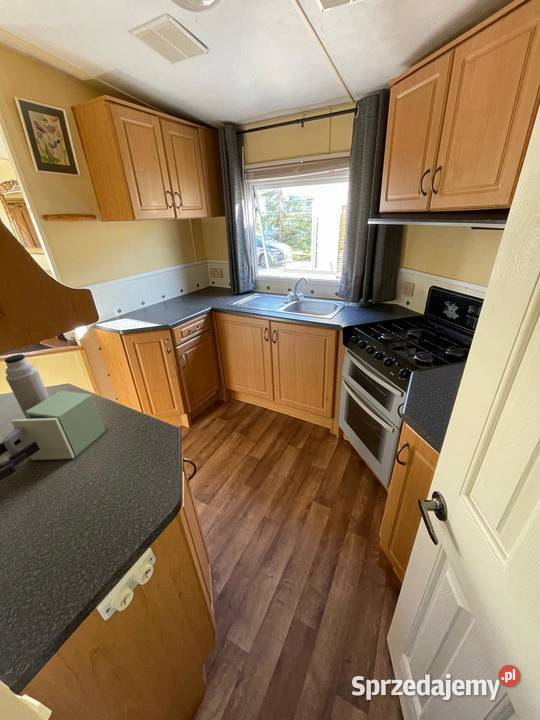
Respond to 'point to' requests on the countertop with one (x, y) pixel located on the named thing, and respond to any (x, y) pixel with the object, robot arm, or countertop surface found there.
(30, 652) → the countertop surface
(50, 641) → the countertop surface
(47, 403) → the box
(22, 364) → the thermos bottle
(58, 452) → the machine door
